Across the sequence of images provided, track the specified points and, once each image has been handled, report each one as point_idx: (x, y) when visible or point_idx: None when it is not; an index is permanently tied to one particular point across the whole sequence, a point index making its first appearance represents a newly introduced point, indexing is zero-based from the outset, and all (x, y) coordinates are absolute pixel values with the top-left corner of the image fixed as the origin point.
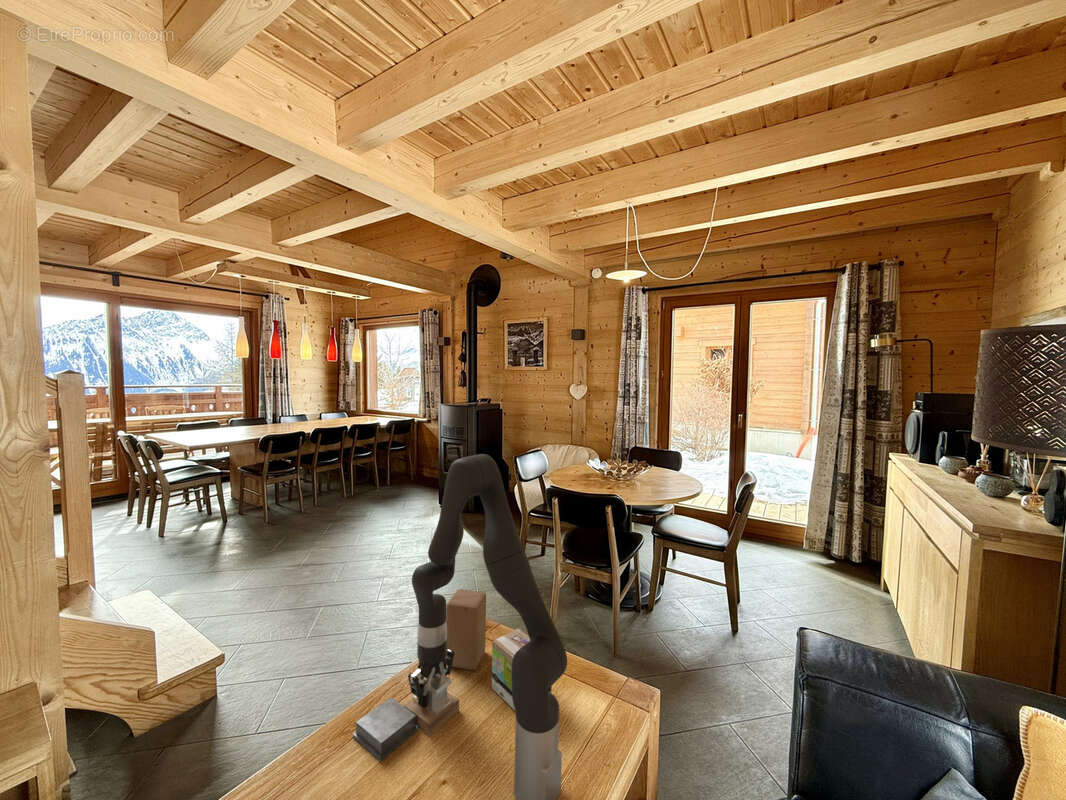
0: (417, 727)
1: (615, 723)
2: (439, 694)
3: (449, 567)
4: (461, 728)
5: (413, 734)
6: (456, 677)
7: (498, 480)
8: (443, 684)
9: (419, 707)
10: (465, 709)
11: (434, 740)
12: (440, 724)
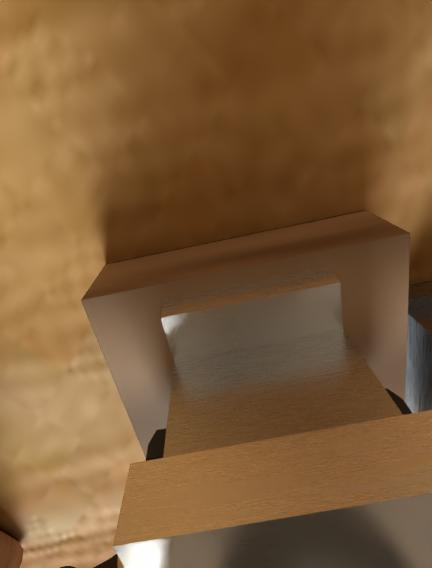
0: None
1: None
2: (277, 408)
3: None
4: (167, 113)
5: (422, 283)
6: (6, 468)
7: None
8: (312, 521)
9: None
10: (61, 245)
11: (367, 157)
12: (274, 235)
